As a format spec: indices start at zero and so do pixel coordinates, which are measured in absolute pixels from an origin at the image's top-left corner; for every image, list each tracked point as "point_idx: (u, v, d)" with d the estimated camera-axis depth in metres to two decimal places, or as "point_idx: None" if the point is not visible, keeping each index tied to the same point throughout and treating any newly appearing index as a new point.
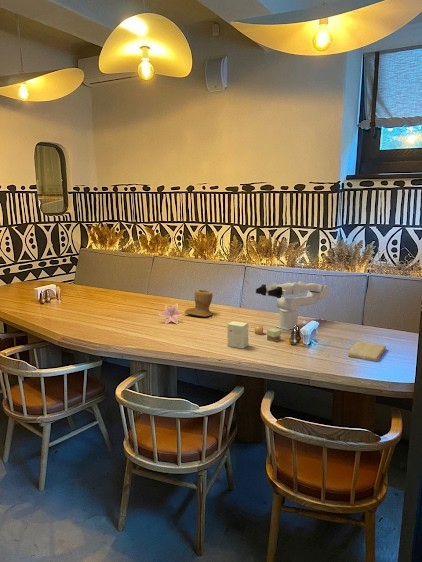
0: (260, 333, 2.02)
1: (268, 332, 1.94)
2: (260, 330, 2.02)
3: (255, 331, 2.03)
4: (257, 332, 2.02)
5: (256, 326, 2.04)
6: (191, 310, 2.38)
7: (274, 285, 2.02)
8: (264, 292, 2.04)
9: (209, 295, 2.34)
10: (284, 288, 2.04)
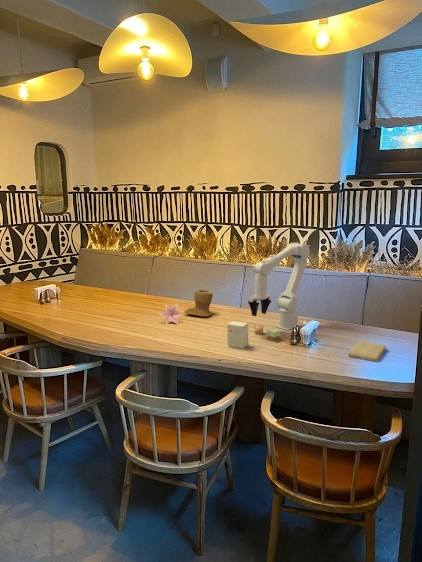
0: (260, 333, 2.02)
1: (268, 332, 1.94)
2: (260, 330, 2.02)
3: (255, 331, 2.03)
4: (257, 332, 2.02)
5: (256, 326, 2.04)
6: (191, 310, 2.38)
7: None
8: (266, 302, 2.03)
9: (209, 295, 2.34)
10: (255, 287, 1.99)
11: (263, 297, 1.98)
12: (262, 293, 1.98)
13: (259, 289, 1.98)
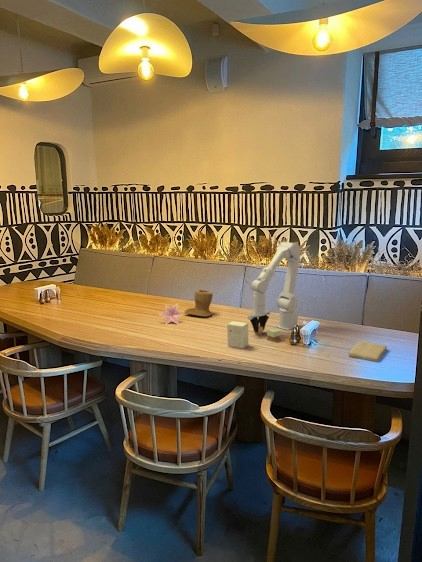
0: (260, 333, 2.02)
1: (268, 332, 1.94)
2: (260, 330, 2.02)
3: None
4: (257, 332, 2.02)
5: None
6: (191, 310, 2.38)
7: None
8: (263, 319, 2.04)
9: (209, 295, 2.34)
10: (253, 304, 2.01)
11: (262, 314, 2.00)
12: (260, 310, 1.99)
13: (257, 306, 1.99)
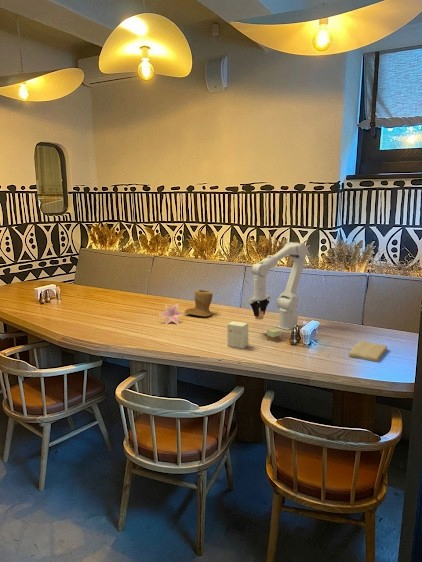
0: (260, 317, 2.01)
1: (268, 332, 1.94)
2: (261, 314, 2.00)
3: None
4: None
5: None
6: (191, 310, 2.38)
7: None
8: (264, 303, 2.02)
9: (209, 295, 2.34)
10: (254, 288, 1.99)
11: (262, 298, 1.98)
12: (261, 294, 1.98)
13: (258, 290, 1.97)
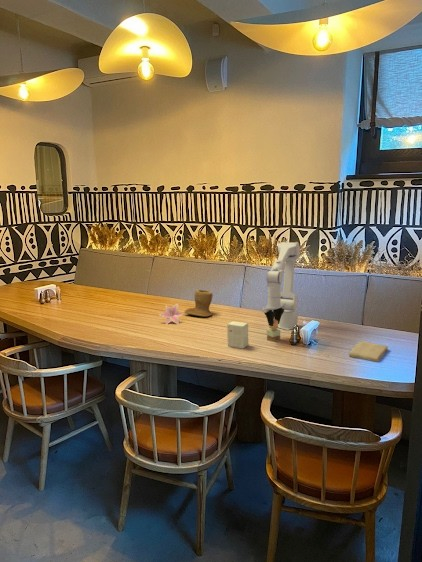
0: (275, 327, 1.92)
1: (268, 332, 1.94)
2: (275, 324, 1.92)
3: None
4: (272, 326, 1.92)
5: None
6: (191, 310, 2.38)
7: None
8: (278, 312, 1.93)
9: (209, 295, 2.34)
10: (268, 297, 1.90)
11: (277, 307, 1.89)
12: (276, 302, 1.89)
13: (272, 298, 1.89)
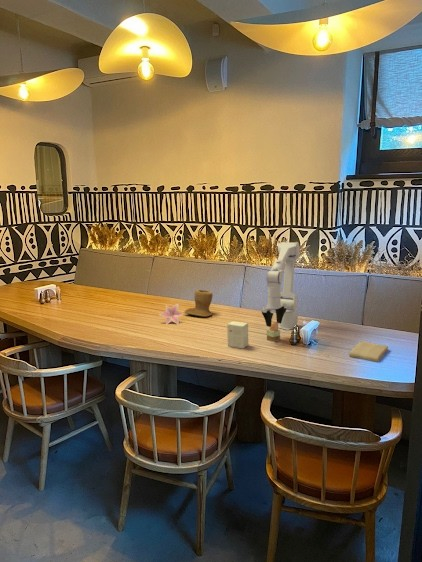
0: (275, 329, 1.92)
1: (267, 332, 1.94)
2: (275, 326, 1.92)
3: (270, 327, 1.93)
4: (272, 328, 1.92)
5: (271, 322, 1.94)
6: (191, 310, 2.38)
7: None
8: (280, 311, 1.94)
9: (209, 295, 2.34)
10: (268, 297, 1.90)
11: (277, 307, 1.89)
12: (276, 302, 1.89)
13: (272, 298, 1.89)
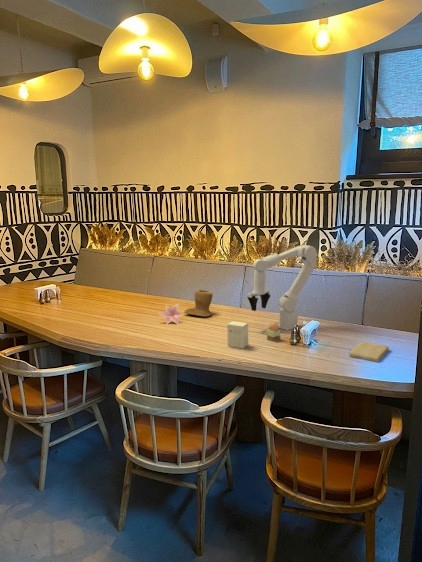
0: (275, 329, 1.92)
1: (268, 332, 1.94)
2: (275, 326, 1.92)
3: (269, 327, 1.93)
4: (271, 328, 1.92)
5: (270, 322, 1.94)
6: (191, 310, 2.38)
7: None
8: (265, 297, 2.10)
9: (209, 295, 2.34)
10: (254, 283, 2.07)
11: (262, 292, 2.06)
12: (261, 289, 2.05)
13: (257, 285, 2.05)
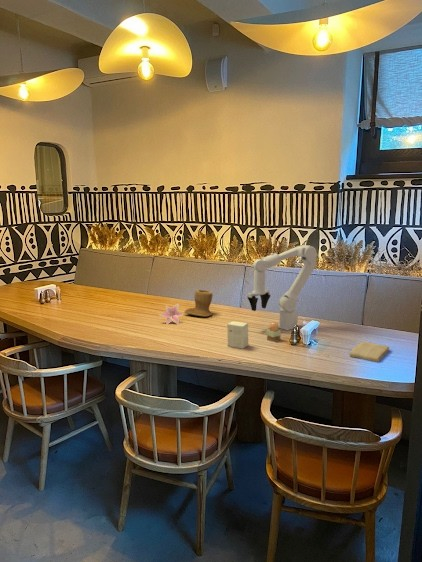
0: (275, 329, 1.92)
1: (268, 332, 1.94)
2: (275, 326, 1.92)
3: (270, 327, 1.93)
4: (272, 328, 1.92)
5: (271, 322, 1.94)
6: (191, 310, 2.38)
7: None
8: (265, 297, 2.10)
9: (209, 295, 2.34)
10: (254, 283, 2.07)
11: (262, 292, 2.06)
12: (261, 289, 2.05)
13: (257, 285, 2.05)
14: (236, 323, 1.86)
